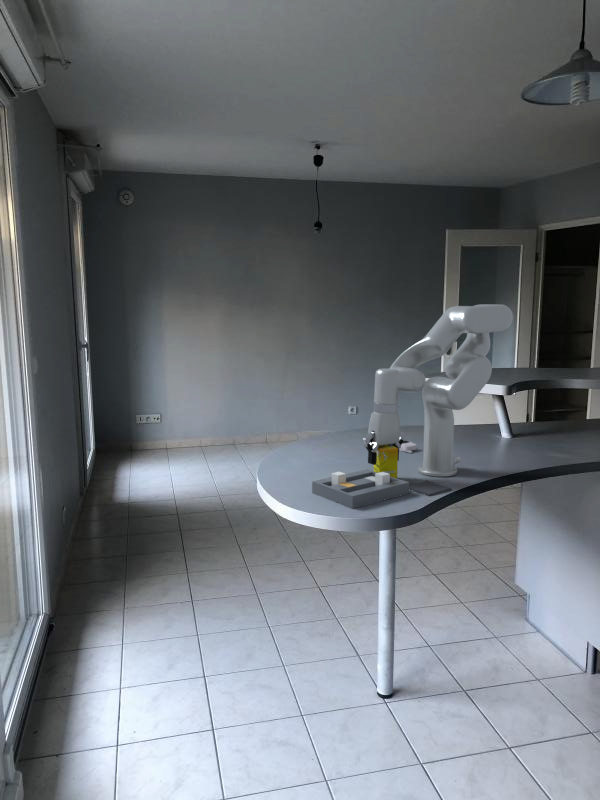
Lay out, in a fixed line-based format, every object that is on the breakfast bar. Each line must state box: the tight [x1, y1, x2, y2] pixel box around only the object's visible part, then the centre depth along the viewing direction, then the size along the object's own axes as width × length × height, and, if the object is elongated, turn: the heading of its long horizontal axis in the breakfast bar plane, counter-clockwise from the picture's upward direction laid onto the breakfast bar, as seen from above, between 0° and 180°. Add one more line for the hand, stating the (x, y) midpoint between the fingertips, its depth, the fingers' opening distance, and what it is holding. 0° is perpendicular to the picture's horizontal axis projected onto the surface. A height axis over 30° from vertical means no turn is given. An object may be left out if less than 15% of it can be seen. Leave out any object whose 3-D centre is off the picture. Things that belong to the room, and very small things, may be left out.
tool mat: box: [409, 480, 453, 497], centre depth 189 cm, size 10×10×1 cm
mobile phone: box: [399, 439, 418, 454], centre depth 244 cm, size 6×6×25 cm
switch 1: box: [331, 471, 347, 485], centre depth 184 cm, size 3×3×4 cm
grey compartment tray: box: [311, 469, 410, 510], centre depth 184 cm, size 22×18×4 cm
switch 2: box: [375, 472, 390, 486], centre depth 184 cm, size 3×3×4 cm
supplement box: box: [373, 444, 399, 479], centre depth 198 cm, size 6×6×11 cm
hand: (383, 462), depth 198 cm, fingers open, 9 cm apart
